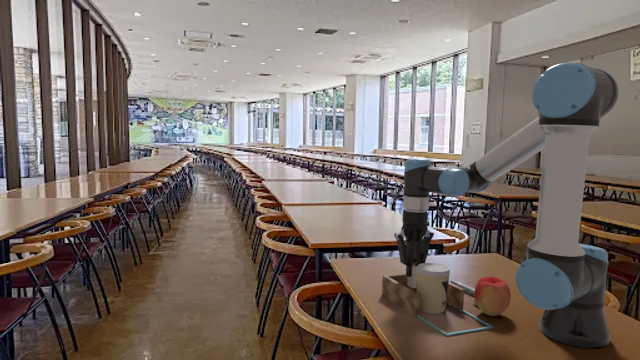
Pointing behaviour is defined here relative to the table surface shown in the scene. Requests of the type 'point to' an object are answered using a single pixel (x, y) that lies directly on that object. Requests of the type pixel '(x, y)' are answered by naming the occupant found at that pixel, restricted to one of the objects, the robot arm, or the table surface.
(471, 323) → the table surface
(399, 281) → the cubby
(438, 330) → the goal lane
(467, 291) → the crook tool
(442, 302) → the coffee cup
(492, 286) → the apple
